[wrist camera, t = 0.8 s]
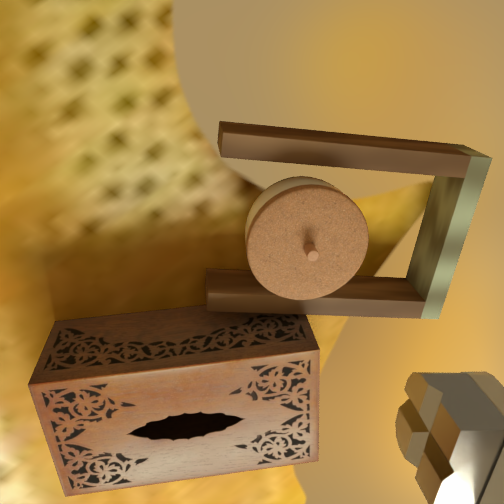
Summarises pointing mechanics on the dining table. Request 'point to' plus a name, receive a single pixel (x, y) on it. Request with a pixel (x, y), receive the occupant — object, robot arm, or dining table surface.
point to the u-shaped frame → (369, 158)
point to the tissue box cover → (176, 396)
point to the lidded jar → (304, 238)
